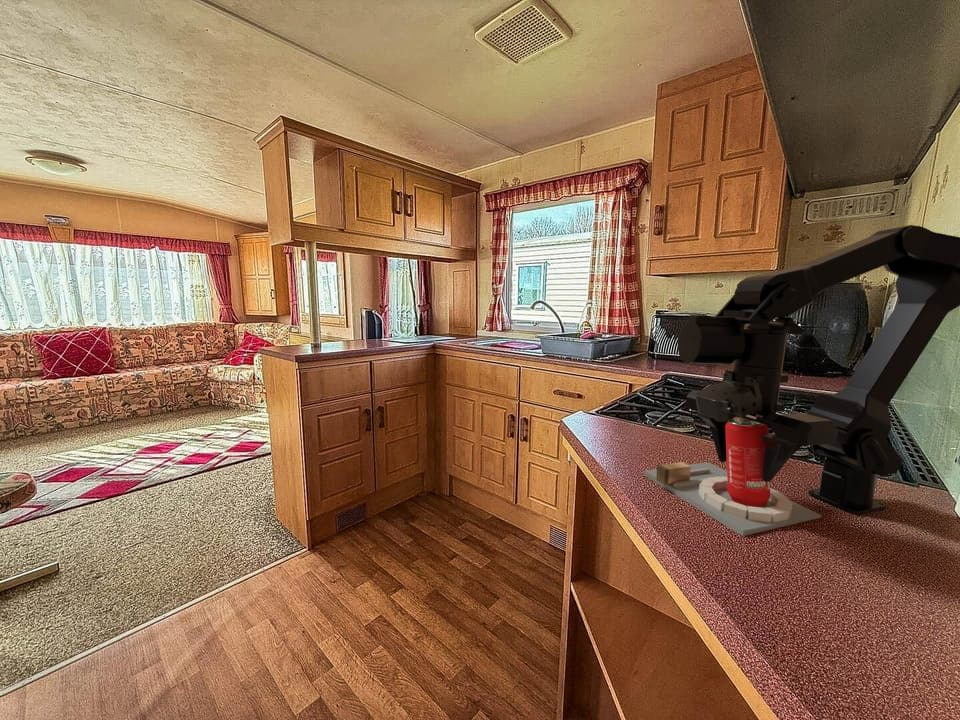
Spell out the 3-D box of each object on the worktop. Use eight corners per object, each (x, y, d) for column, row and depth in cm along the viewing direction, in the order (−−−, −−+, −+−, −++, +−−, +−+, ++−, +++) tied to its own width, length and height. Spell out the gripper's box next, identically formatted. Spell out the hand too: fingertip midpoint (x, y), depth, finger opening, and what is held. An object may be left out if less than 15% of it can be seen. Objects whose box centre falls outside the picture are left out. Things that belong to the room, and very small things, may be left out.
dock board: (707, 466, 73) (708, 455, 72) (820, 520, 55) (822, 507, 54) (643, 475, 69) (644, 464, 69) (742, 536, 51) (744, 522, 50)
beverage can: (729, 506, 57) (726, 424, 56) (726, 491, 61) (723, 416, 60) (773, 511, 54) (771, 426, 53) (767, 495, 59) (765, 417, 58)
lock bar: (681, 476, 66) (682, 462, 66) (689, 480, 64) (690, 466, 64) (656, 479, 65) (657, 465, 64) (664, 484, 63) (665, 469, 62)
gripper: (662, 356, 62) (652, 451, 64) (781, 378, 44) (763, 508, 46) (717, 356, 65) (707, 447, 67) (850, 377, 47) (830, 499, 49)
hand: (743, 470), depth 57 cm, fingers open, 7 cm apart
